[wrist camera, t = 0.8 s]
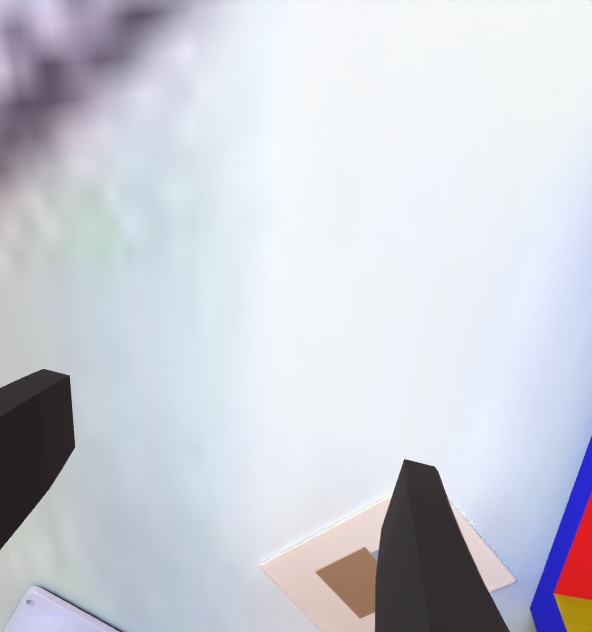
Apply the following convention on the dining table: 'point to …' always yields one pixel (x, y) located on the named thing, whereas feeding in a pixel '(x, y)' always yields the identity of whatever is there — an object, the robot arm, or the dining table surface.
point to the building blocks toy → (569, 564)
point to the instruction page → (356, 569)
